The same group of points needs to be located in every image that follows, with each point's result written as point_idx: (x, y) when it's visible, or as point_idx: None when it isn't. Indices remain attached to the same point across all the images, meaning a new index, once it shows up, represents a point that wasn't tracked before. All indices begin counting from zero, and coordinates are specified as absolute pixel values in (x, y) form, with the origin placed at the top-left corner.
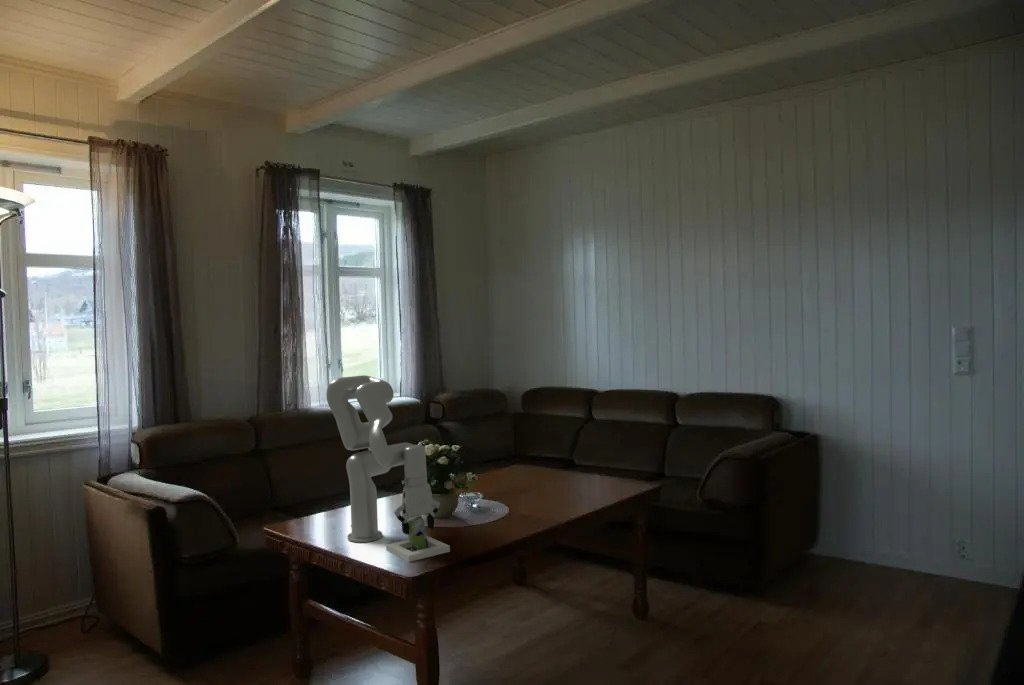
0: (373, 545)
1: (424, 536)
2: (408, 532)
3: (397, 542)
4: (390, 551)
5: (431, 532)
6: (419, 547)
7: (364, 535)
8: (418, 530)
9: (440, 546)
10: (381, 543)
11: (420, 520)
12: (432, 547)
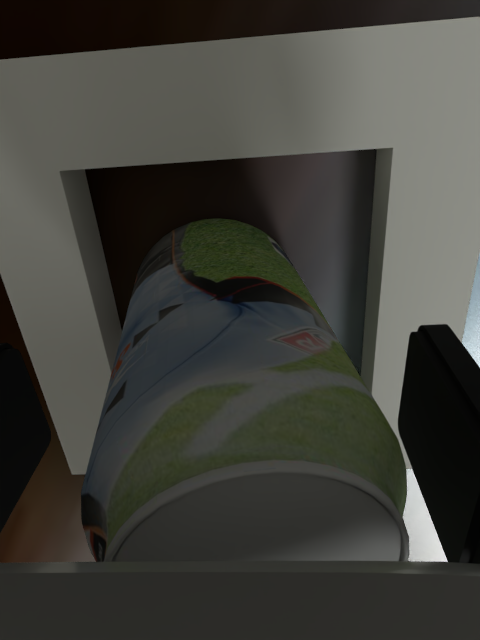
0: (418, 547)
1: (172, 276)
2: (437, 334)
3: None
4: None
5: (7, 545)
6: (254, 234)
7: None
8: (264, 314)
9: (39, 119)
10: None
11: (185, 450)
12: (133, 145)
